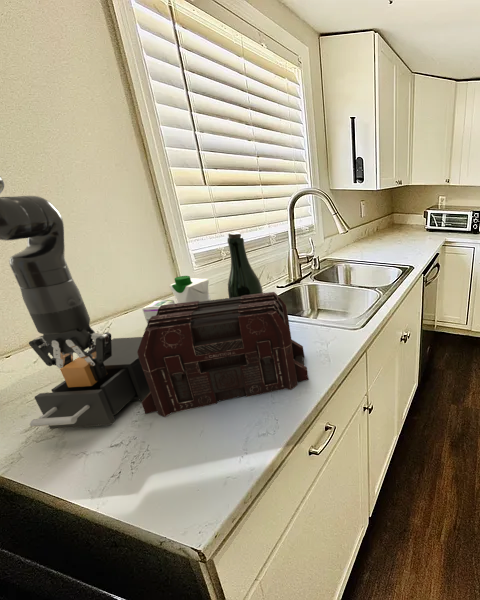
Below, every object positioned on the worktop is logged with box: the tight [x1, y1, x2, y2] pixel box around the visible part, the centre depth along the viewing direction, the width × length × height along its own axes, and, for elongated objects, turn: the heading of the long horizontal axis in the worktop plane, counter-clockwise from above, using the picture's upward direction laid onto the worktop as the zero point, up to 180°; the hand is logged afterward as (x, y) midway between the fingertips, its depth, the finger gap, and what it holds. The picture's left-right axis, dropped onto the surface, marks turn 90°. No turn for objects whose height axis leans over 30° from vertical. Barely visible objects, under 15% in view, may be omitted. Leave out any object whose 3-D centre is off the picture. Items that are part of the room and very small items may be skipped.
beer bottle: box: [227, 232, 264, 298], centre depth 102 cm, size 10×10×33 cm
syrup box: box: [142, 299, 176, 325], centre depth 97 cm, size 6×6×14 cm
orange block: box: [59, 356, 98, 387], centre depth 68 cm, size 4×4×4 cm
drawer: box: [29, 368, 137, 430], centre depth 69 cm, size 17×12×8 cm
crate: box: [137, 291, 309, 418], centre depth 79 cm, size 35×19×21 cm, turn 110°
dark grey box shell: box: [91, 336, 150, 402], centre depth 80 cm, size 14×13×10 cm
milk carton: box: [168, 275, 211, 303], centre depth 104 cm, size 9×9×20 cm
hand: (88, 379), depth 69 cm, fingers closed on orange block, 4 cm apart
